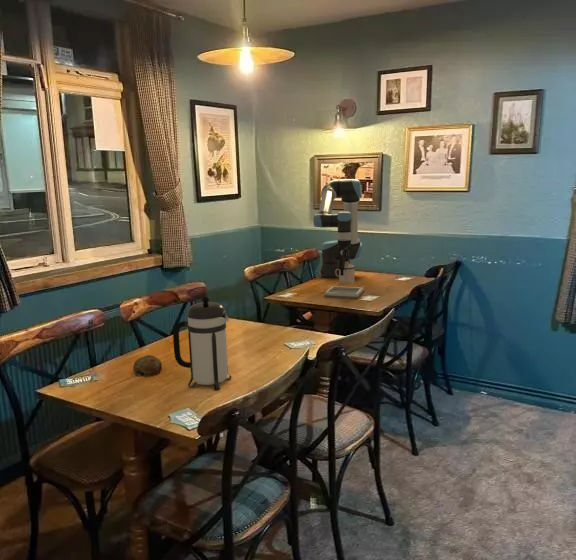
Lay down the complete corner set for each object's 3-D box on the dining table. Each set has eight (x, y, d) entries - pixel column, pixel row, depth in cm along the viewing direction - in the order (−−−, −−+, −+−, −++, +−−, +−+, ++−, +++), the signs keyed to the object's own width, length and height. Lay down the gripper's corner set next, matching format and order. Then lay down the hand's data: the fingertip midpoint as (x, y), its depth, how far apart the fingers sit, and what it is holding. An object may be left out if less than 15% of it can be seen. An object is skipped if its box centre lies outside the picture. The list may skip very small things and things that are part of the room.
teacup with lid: (357, 281, 301) (357, 261, 298) (350, 284, 293) (350, 263, 291) (339, 279, 307) (339, 259, 305) (331, 282, 300) (331, 262, 298)
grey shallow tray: (332, 290, 313) (332, 286, 312) (364, 291, 306) (364, 287, 306) (324, 296, 297) (324, 292, 296) (357, 298, 290) (357, 294, 290)
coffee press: (224, 371, 189) (220, 288, 183) (238, 386, 174) (234, 298, 168) (175, 379, 182) (169, 294, 176) (186, 396, 168) (179, 304, 162)
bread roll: (132, 384, 188) (125, 368, 184) (142, 363, 196) (136, 347, 192) (158, 385, 187) (152, 369, 182) (167, 364, 195) (162, 348, 190)
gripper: (342, 237, 307) (342, 275, 311) (332, 241, 286) (333, 282, 291) (355, 237, 304) (355, 275, 308) (346, 242, 284) (346, 283, 288)
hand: (344, 279), depth 300 cm, fingers closed on teacup with lid, 9 cm apart
